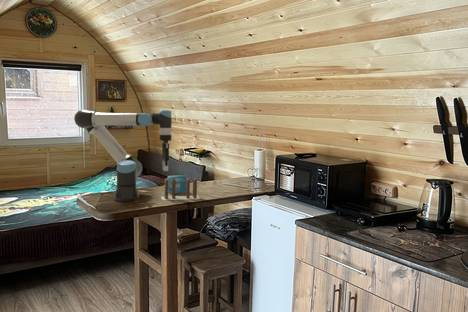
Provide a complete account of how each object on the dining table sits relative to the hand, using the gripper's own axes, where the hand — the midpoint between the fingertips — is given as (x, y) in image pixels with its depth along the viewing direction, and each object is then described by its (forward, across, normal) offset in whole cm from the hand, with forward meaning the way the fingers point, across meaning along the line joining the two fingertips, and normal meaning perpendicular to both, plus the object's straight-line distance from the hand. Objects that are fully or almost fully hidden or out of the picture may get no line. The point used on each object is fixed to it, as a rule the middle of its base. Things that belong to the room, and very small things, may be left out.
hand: (165, 170), depth 275 cm
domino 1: (+1, 0, 0) cm, 1 cm away
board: (+17, -12, -8) cm, 22 cm away
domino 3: (+16, -12, -3) cm, 20 cm away
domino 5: (+16, -12, -17) cm, 26 cm away
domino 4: (+16, -12, -12) cm, 24 cm away
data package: (+17, +6, -8) cm, 20 cm away
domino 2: (+16, -12, +1) cm, 20 cm away
